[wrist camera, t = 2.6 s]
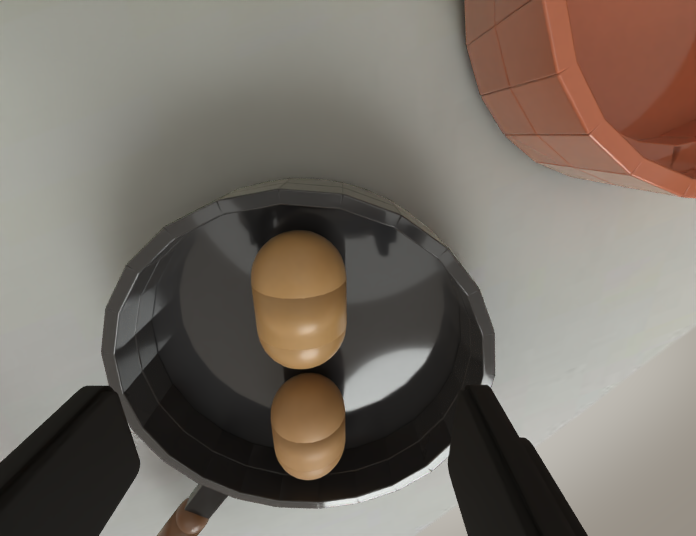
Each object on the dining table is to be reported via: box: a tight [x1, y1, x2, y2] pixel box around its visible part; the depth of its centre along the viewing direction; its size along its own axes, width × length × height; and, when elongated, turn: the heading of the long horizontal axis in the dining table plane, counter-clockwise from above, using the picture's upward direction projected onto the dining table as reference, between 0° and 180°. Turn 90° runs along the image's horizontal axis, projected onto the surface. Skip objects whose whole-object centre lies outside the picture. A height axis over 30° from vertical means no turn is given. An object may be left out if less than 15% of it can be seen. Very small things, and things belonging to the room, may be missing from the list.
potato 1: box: [251, 230, 347, 369], centre depth 15 cm, size 7×4×4 cm, turn 0°
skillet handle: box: [157, 484, 228, 536], centre depth 20 cm, size 10×2×2 cm, turn 145°
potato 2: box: [271, 373, 345, 480], centre depth 18 cm, size 6×4×4 cm, turn 0°
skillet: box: [101, 178, 495, 509], centre depth 17 cm, size 18×18×4 cm
